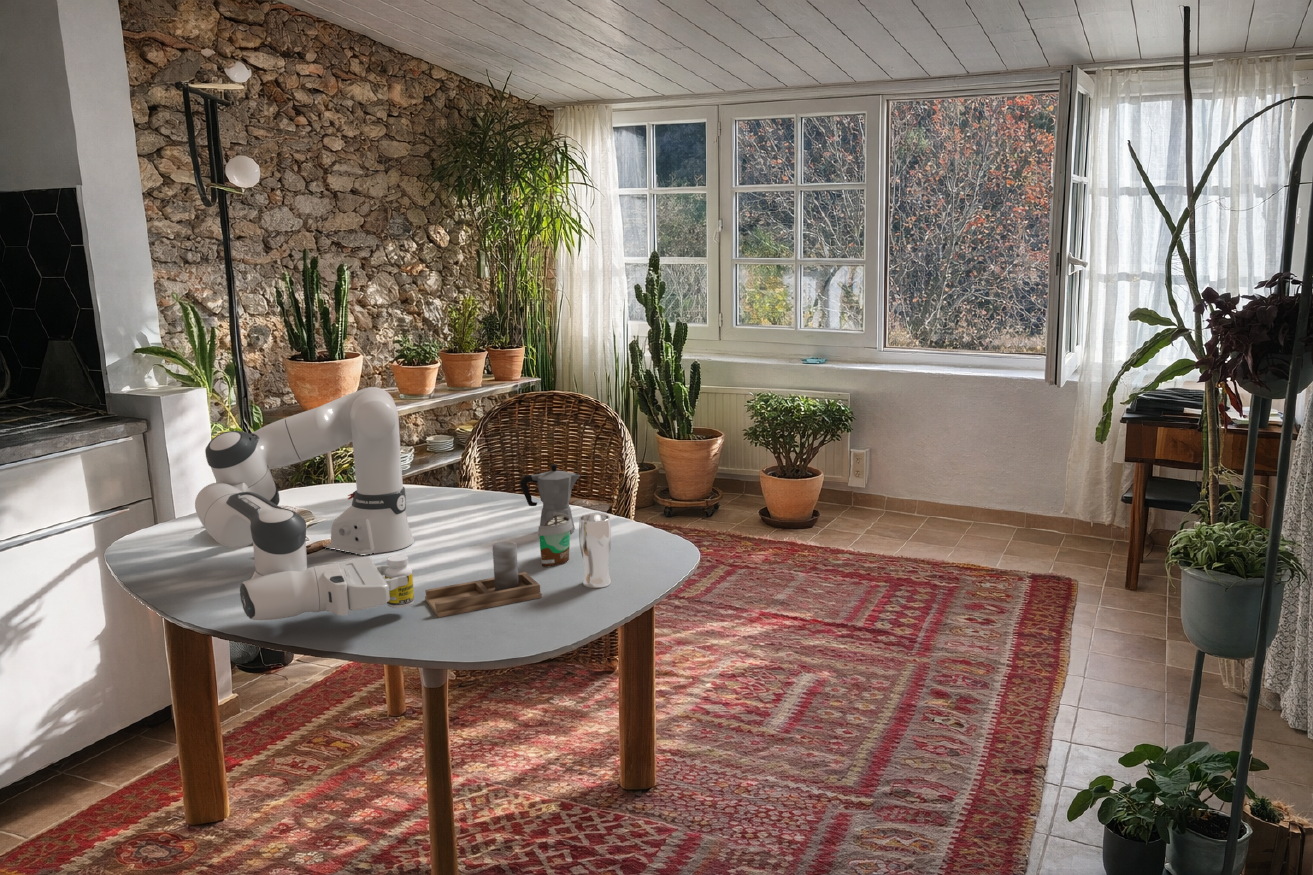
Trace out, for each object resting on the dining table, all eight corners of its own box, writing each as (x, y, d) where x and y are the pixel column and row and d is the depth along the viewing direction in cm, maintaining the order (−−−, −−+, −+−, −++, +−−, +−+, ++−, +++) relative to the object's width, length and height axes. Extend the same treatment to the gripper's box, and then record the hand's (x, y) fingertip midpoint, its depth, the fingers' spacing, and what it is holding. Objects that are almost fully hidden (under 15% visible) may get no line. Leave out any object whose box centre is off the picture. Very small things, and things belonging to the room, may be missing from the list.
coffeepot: (579, 524, 253) (577, 458, 250) (585, 534, 244) (582, 466, 241) (521, 529, 250) (517, 462, 246) (524, 540, 241) (520, 470, 237)
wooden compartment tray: (438, 617, 192) (434, 566, 190) (425, 599, 202) (421, 551, 200) (541, 597, 202) (539, 548, 200) (524, 581, 212) (522, 534, 210)
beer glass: (588, 591, 205) (586, 523, 202) (576, 581, 211) (573, 515, 208) (618, 585, 208) (615, 518, 205) (604, 575, 214) (602, 511, 211)
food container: (565, 570, 219) (563, 527, 217) (539, 568, 220) (537, 526, 218) (580, 552, 230) (578, 512, 228) (555, 551, 232) (554, 511, 230)
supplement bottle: (400, 610, 191) (396, 563, 189) (381, 605, 193) (377, 559, 191) (420, 601, 195) (416, 555, 193) (401, 597, 198) (397, 551, 196)
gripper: (325, 585, 197) (393, 573, 203) (341, 619, 179) (415, 605, 185) (322, 556, 196) (391, 545, 202) (338, 587, 178) (413, 574, 184)
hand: (403, 574), depth 193 cm, fingers closed on supplement bottle, 5 cm apart
